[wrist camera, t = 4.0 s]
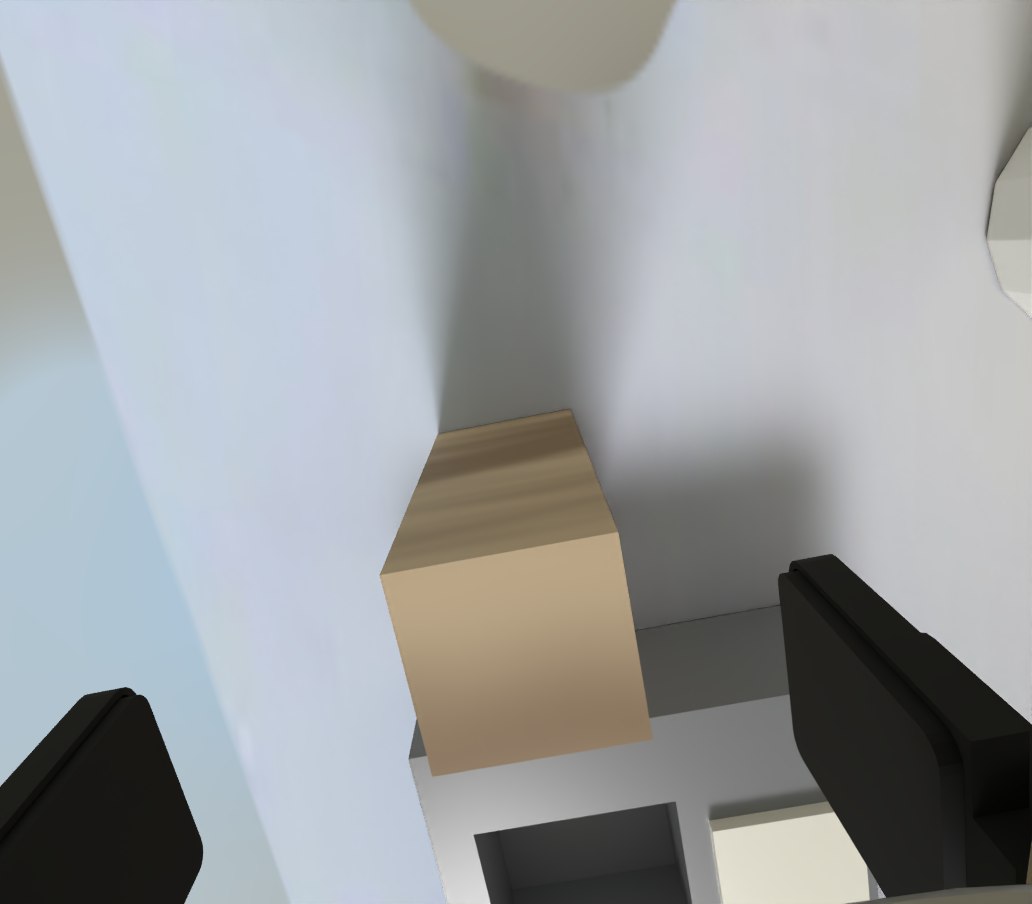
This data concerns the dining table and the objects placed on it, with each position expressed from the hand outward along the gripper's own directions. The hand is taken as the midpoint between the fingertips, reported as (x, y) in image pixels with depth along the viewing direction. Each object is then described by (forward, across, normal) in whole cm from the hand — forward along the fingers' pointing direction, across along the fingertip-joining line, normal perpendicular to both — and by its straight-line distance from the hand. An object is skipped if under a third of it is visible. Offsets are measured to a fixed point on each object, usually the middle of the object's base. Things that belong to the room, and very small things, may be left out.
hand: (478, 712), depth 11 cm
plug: (+12, -1, +1) cm, 12 cm away
